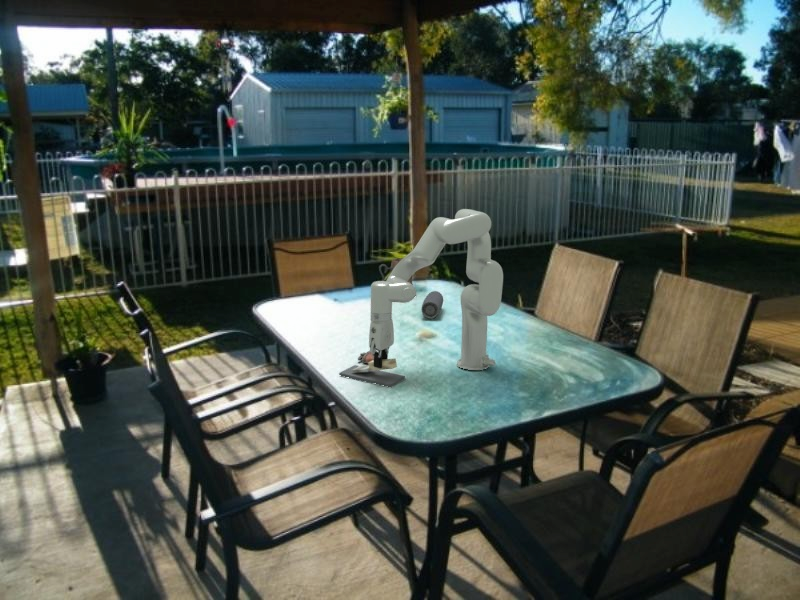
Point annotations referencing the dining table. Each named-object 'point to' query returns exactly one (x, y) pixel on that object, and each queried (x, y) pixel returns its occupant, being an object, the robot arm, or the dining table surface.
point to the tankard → (393, 264)
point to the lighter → (366, 357)
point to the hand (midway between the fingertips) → (380, 365)
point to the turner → (385, 365)
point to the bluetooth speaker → (432, 304)
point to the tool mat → (374, 376)
